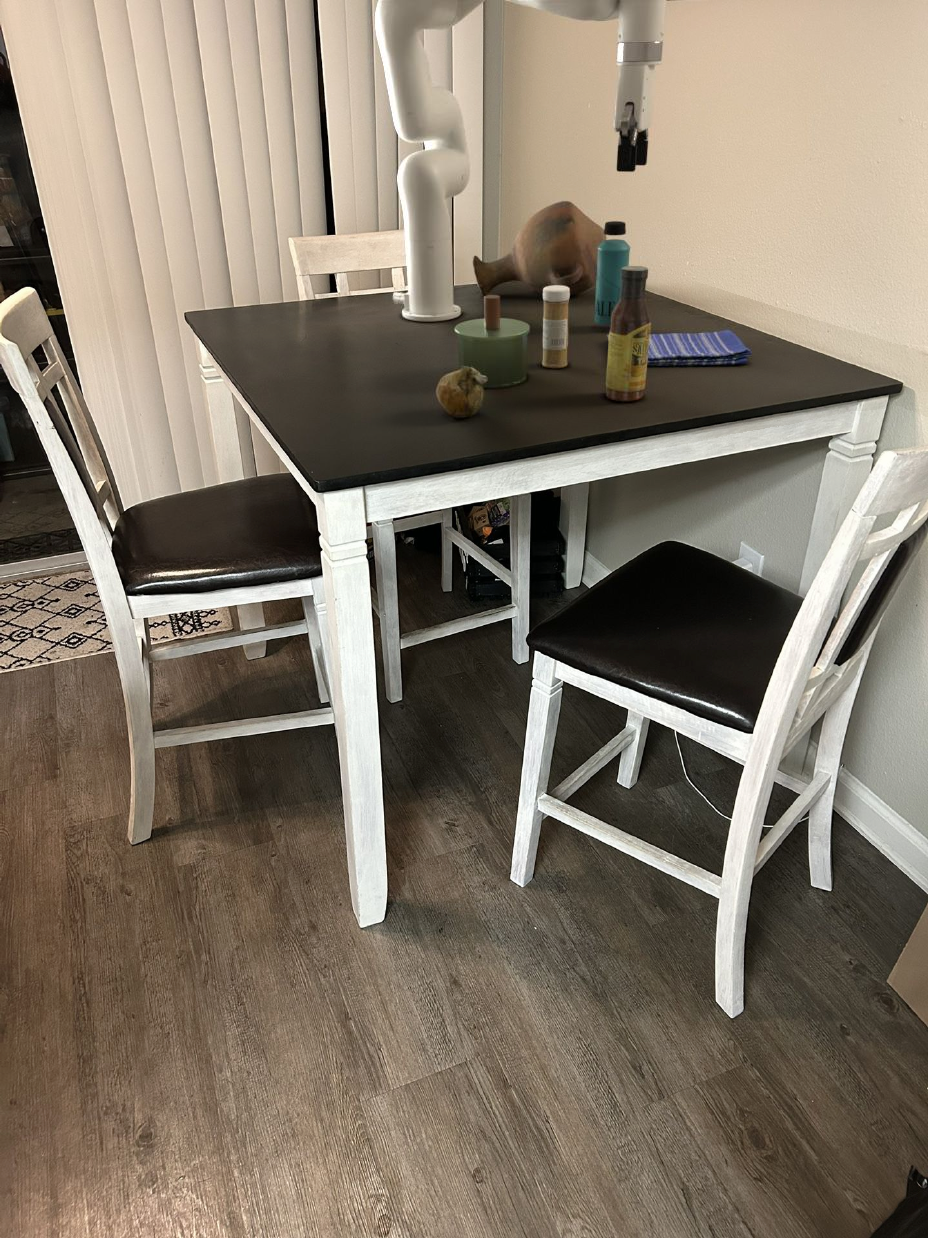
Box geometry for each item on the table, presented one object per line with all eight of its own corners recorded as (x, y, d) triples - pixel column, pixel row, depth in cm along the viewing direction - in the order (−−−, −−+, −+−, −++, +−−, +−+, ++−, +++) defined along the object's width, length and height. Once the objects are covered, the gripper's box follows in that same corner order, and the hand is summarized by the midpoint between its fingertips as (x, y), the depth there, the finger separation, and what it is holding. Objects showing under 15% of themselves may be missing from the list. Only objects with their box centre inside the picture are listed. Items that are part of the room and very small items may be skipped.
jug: (614, 288, 214) (489, 308, 221) (605, 197, 208) (477, 221, 215) (607, 289, 195) (472, 311, 203) (598, 189, 189) (458, 216, 197)
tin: (448, 384, 156) (447, 336, 152) (473, 365, 165) (473, 319, 161) (512, 391, 152) (513, 342, 148) (535, 371, 161) (536, 324, 157)
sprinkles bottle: (568, 362, 165) (571, 284, 158) (565, 369, 161) (568, 290, 154) (543, 361, 166) (544, 284, 159) (540, 368, 162) (541, 289, 155)
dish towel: (752, 366, 160) (754, 349, 159) (616, 367, 161) (617, 351, 160) (731, 339, 175) (733, 324, 174) (606, 341, 176) (607, 326, 175)
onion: (482, 404, 147) (481, 354, 143) (489, 421, 140) (488, 369, 136) (435, 407, 146) (432, 357, 142) (440, 424, 139) (437, 372, 135)
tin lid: (443, 341, 152) (441, 302, 149) (471, 322, 162) (470, 285, 158) (515, 347, 148) (515, 307, 144) (539, 327, 157) (540, 290, 154)
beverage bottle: (624, 324, 186) (631, 218, 176) (626, 333, 181) (633, 224, 170) (592, 324, 187) (597, 218, 176) (593, 333, 181) (598, 224, 171)
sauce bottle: (634, 405, 144) (645, 273, 134) (598, 399, 147) (605, 270, 137) (650, 394, 149) (661, 265, 139) (615, 388, 152) (623, 262, 141)
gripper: (628, 54, 162) (621, 162, 171) (605, 56, 148) (599, 173, 157) (670, 53, 159) (662, 162, 168) (651, 55, 146) (642, 174, 155)
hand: (631, 167), depth 163 cm, fingers open, 9 cm apart
